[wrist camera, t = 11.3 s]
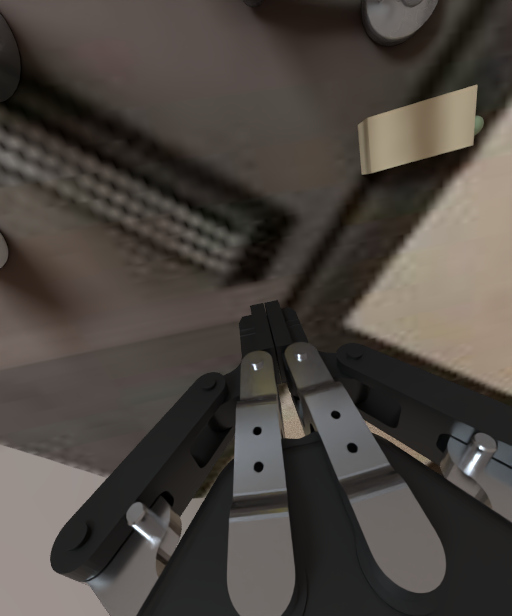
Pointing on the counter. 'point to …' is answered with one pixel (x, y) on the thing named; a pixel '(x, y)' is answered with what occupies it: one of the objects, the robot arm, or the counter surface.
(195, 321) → the counter surface
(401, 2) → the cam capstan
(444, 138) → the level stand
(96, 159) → the counter surface
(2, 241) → the milk bottle
